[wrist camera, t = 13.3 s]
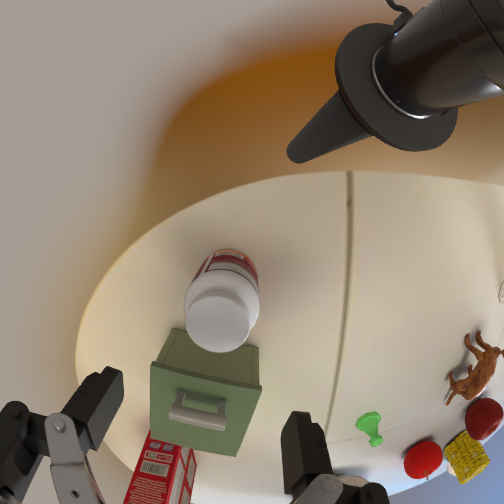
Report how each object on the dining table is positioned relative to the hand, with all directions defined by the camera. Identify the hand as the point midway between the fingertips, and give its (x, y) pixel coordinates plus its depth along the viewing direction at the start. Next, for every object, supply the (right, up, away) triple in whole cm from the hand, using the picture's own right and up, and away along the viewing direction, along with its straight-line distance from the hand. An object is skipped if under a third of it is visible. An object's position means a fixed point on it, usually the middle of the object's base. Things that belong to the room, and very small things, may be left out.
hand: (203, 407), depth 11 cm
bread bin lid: (-3, -11, +14) cm, 18 cm away
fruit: (+39, -37, +29) cm, 61 cm away
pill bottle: (0, +5, +19) cm, 19 cm away
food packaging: (-11, -26, +26) cm, 39 cm away
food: (+56, -43, +30) cm, 77 cm away
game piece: (+21, -21, +25) cm, 39 cm away
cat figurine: (+39, -13, +23) cm, 47 cm away
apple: (+52, -28, +26) cm, 65 cm away
